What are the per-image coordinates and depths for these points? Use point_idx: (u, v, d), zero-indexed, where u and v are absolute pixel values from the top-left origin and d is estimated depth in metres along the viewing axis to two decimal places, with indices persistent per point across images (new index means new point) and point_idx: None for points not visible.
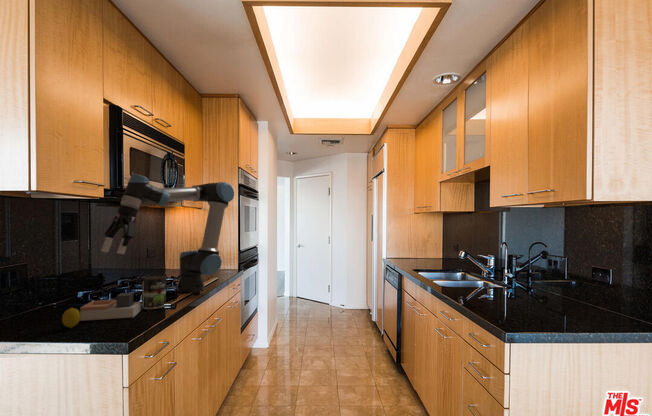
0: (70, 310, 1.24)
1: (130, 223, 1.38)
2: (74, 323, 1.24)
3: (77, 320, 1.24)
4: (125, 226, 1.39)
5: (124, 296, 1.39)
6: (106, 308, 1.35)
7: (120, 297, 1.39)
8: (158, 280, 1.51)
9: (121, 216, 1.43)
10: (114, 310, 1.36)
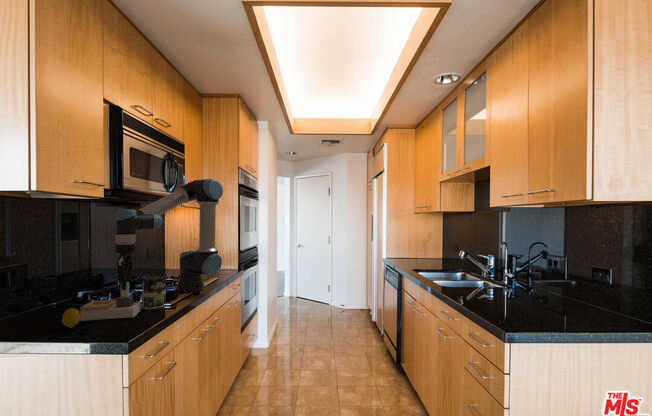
0: (70, 310, 1.24)
1: (118, 268, 1.37)
2: (74, 323, 1.24)
3: (77, 320, 1.24)
4: None
5: (124, 299, 1.39)
6: (106, 308, 1.35)
7: (120, 300, 1.39)
8: (158, 280, 1.51)
9: None
10: (114, 310, 1.36)
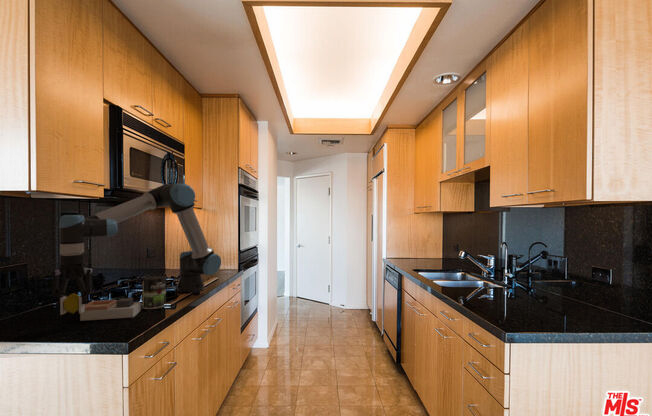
0: (71, 296, 1.24)
1: None
2: (76, 308, 1.24)
3: None
4: None
5: (124, 301, 1.39)
6: (106, 308, 1.35)
7: (120, 302, 1.39)
8: (158, 280, 1.51)
9: None
10: (114, 310, 1.36)
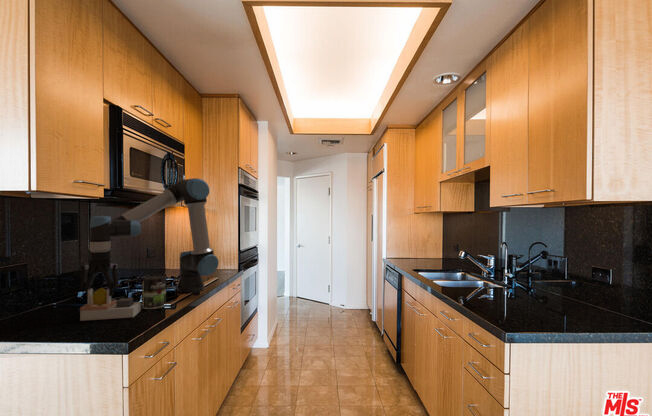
0: (100, 290, 1.38)
1: None
2: (103, 302, 1.38)
3: (105, 299, 1.39)
4: None
5: (124, 301, 1.39)
6: (106, 308, 1.35)
7: (120, 302, 1.39)
8: (158, 280, 1.51)
9: None
10: (114, 310, 1.36)
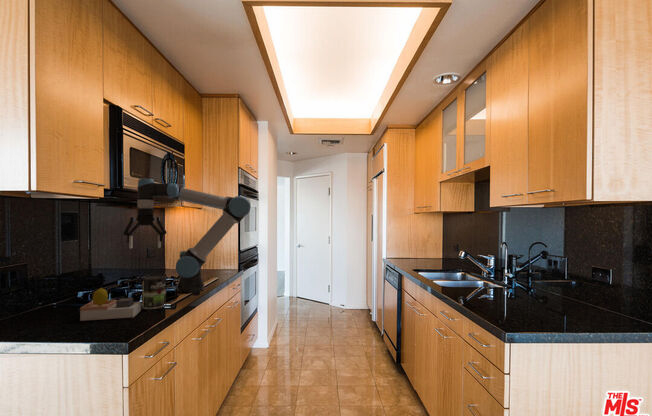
0: (100, 290, 1.39)
1: None
2: (103, 301, 1.39)
3: (106, 299, 1.39)
4: None
5: (124, 301, 1.39)
6: (106, 308, 1.35)
7: (120, 302, 1.39)
8: (158, 280, 1.51)
9: None
10: (114, 310, 1.36)
